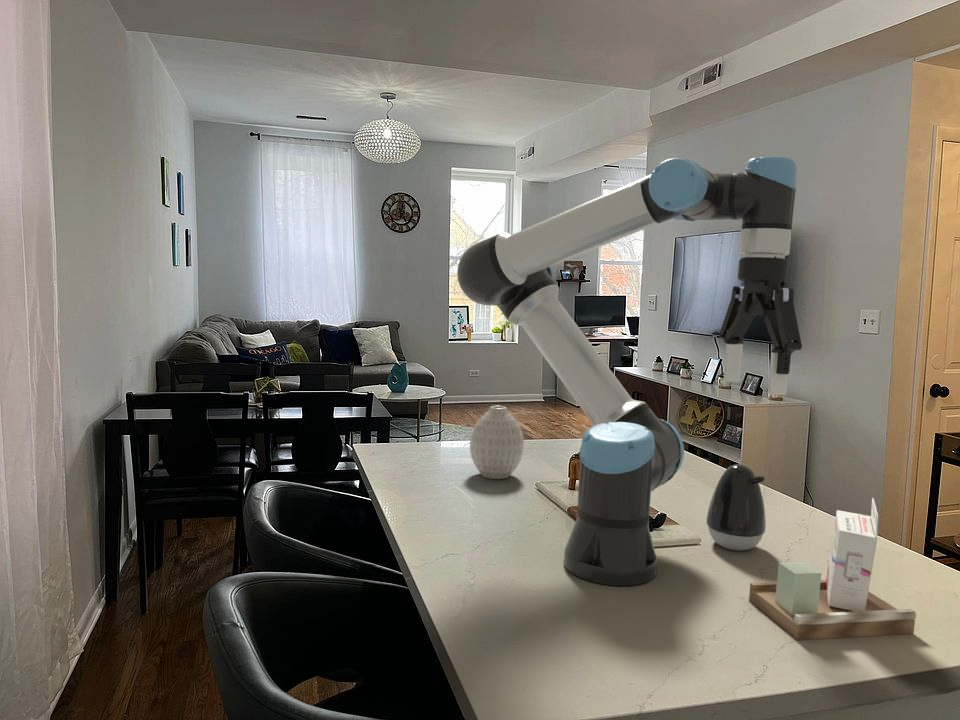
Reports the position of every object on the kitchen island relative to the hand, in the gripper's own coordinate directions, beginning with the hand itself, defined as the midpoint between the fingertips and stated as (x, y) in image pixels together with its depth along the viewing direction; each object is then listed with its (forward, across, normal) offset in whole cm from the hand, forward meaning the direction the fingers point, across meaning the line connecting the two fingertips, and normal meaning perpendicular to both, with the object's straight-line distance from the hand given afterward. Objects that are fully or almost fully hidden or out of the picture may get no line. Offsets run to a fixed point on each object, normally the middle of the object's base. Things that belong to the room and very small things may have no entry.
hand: (753, 388), depth 119 cm
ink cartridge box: (+28, -17, -7) cm, 34 cm away
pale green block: (+29, -19, +2) cm, 34 cm away
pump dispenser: (+31, +10, -5) cm, 33 cm away
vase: (+31, +58, +30) cm, 72 cm away
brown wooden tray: (+31, -18, -4) cm, 36 cm away
